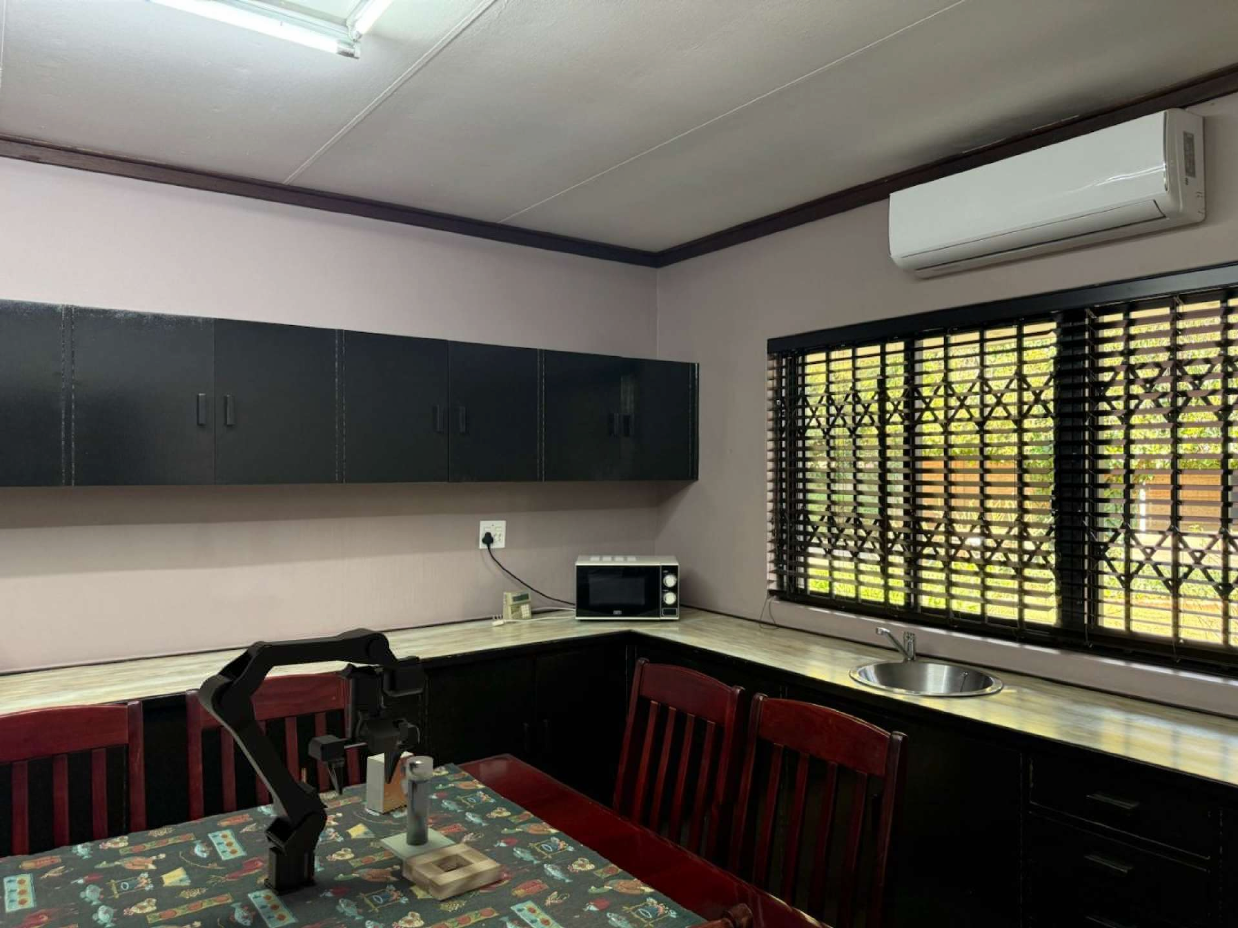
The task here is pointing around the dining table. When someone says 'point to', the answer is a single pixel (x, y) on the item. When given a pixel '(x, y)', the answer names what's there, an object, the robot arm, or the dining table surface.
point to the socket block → (442, 885)
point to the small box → (382, 793)
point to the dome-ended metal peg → (418, 799)
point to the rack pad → (406, 851)
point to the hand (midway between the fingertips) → (364, 788)
